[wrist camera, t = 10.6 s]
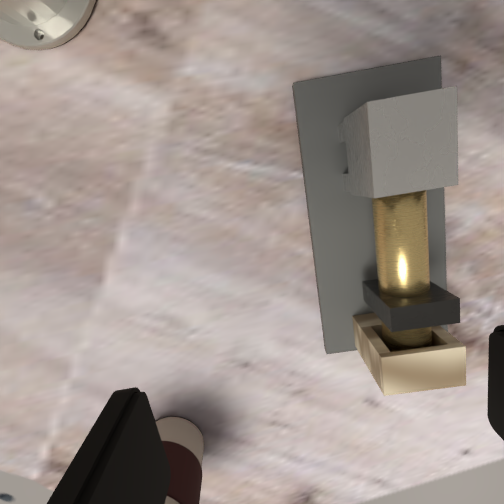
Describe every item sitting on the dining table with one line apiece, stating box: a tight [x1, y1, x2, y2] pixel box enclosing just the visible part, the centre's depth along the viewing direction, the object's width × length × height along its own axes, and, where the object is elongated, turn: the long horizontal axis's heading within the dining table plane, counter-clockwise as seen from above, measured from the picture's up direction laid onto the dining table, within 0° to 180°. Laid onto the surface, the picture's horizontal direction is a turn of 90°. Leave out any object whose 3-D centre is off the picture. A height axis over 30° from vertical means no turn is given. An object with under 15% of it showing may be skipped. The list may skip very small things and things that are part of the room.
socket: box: [352, 313, 466, 396], centre depth 29 cm, size 4×7×8 cm, turn 99°
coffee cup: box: [156, 417, 204, 504], centre depth 31 cm, size 10×10×15 cm
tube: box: [362, 190, 460, 352], centre depth 26 cm, size 18×5×6 cm, turn 9°
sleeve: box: [338, 86, 458, 198], centre depth 25 cm, size 6×6×8 cm
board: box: [292, 56, 448, 354], centre depth 31 cm, size 28×13×1 cm, turn 9°
